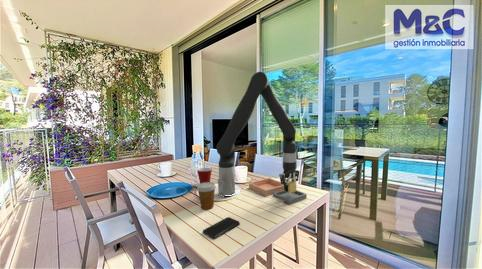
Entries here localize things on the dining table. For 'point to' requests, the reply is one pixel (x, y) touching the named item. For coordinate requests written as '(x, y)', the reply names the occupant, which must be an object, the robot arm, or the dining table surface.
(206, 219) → the dining table surface
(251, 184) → the terracotta dish
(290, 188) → the ochre cube
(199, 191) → the disposable coffee cup
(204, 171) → the plastic cup
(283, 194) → the charcoal tray
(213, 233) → the phone
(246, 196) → the dining table surface
